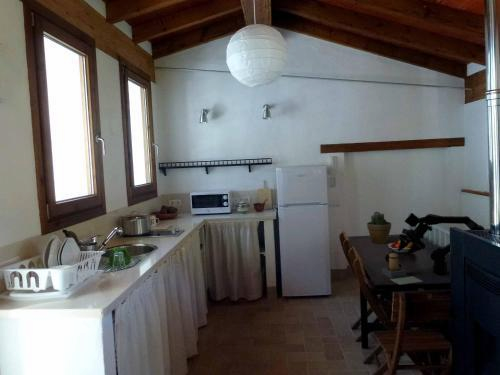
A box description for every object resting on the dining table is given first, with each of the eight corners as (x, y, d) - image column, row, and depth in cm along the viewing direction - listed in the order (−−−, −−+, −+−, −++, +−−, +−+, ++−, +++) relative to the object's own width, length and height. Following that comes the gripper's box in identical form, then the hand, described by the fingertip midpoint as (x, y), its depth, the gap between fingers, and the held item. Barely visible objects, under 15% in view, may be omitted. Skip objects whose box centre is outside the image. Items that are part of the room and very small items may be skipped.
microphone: (404, 274, 237) (389, 261, 256) (407, 265, 236) (392, 253, 255) (396, 272, 236) (382, 259, 256) (399, 263, 235) (385, 251, 255)
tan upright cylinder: (395, 272, 229) (395, 252, 228) (401, 275, 223) (400, 254, 222) (387, 273, 228) (386, 253, 227) (392, 276, 222) (391, 255, 221)
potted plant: (363, 240, 316) (362, 210, 314) (385, 238, 318) (384, 208, 316) (373, 245, 297) (372, 213, 295) (396, 243, 299) (395, 212, 297)
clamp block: (397, 271, 232) (397, 265, 232) (408, 277, 221) (408, 270, 221) (380, 274, 230) (380, 267, 229) (390, 279, 219) (390, 273, 219)
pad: (412, 278, 219) (412, 276, 219) (422, 282, 211) (422, 281, 211) (390, 281, 217) (390, 279, 217) (399, 286, 208) (399, 284, 208)
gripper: (401, 221, 234) (385, 240, 233) (420, 226, 216) (403, 247, 215) (413, 232, 237) (397, 252, 235) (433, 238, 218) (416, 259, 217)
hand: (402, 252), depth 226 cm, fingers open, 9 cm apart
